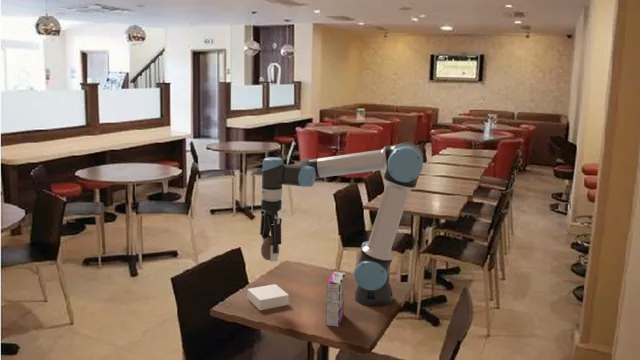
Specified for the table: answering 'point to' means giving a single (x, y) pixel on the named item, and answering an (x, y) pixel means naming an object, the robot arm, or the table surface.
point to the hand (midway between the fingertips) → (269, 257)
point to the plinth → (267, 297)
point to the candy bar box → (335, 299)
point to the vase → (267, 248)
